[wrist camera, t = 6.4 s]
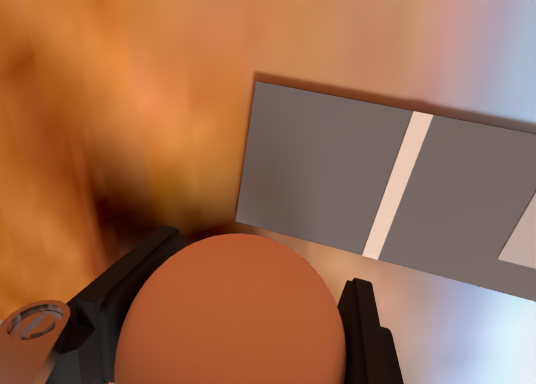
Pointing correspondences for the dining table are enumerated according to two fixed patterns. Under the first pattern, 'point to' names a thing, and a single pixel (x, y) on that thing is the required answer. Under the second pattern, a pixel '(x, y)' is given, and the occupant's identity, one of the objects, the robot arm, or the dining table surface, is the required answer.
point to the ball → (232, 319)
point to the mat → (394, 186)
